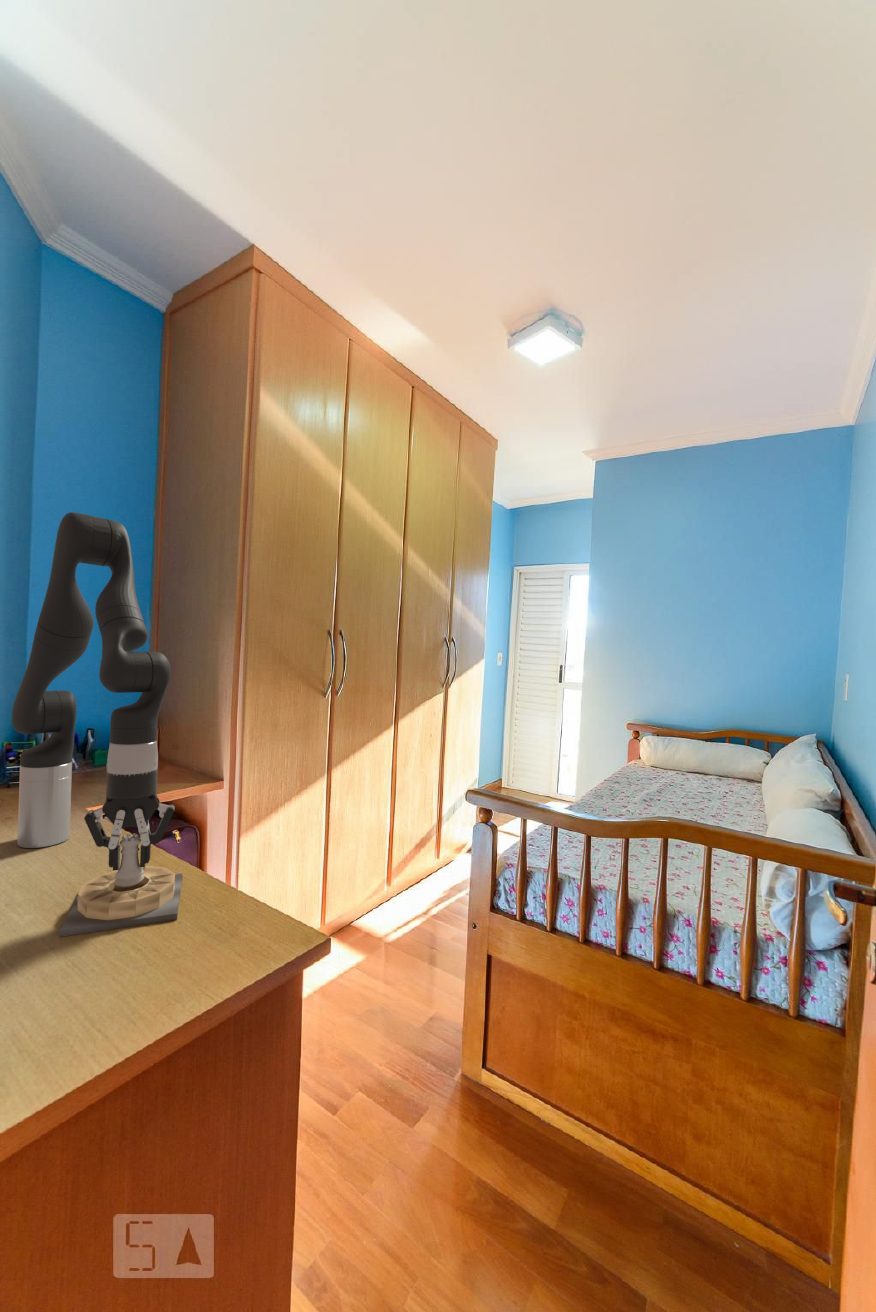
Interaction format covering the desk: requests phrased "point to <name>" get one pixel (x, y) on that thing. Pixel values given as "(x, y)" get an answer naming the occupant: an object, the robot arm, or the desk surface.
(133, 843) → the rook chess piece
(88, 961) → the desk surface
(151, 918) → the gray square plate
